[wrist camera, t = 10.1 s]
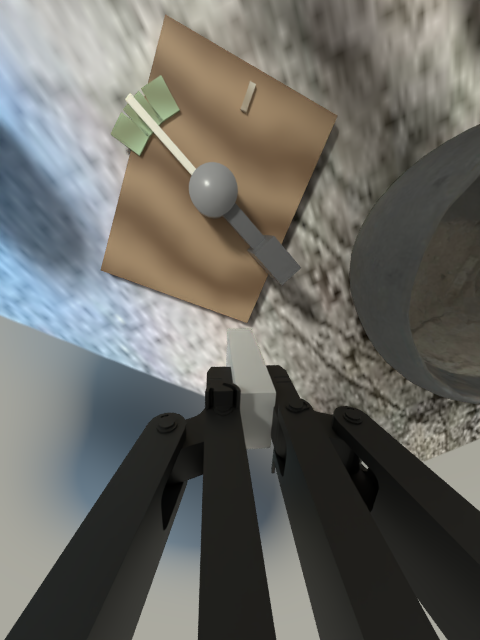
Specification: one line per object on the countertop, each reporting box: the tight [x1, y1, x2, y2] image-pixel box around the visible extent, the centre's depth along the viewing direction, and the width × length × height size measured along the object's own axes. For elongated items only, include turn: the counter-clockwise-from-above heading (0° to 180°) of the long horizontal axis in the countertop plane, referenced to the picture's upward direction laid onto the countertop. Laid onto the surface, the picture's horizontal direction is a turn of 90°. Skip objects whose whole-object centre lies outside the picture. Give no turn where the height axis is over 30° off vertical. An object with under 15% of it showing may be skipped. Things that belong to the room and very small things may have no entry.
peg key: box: [125, 93, 301, 285], centre depth 25 cm, size 21×4×6 cm, turn 43°
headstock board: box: [101, 15, 337, 323], centre depth 28 cm, size 24×20×2 cm
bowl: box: [349, 124, 480, 404], centre depth 26 cm, size 24×24×15 cm
